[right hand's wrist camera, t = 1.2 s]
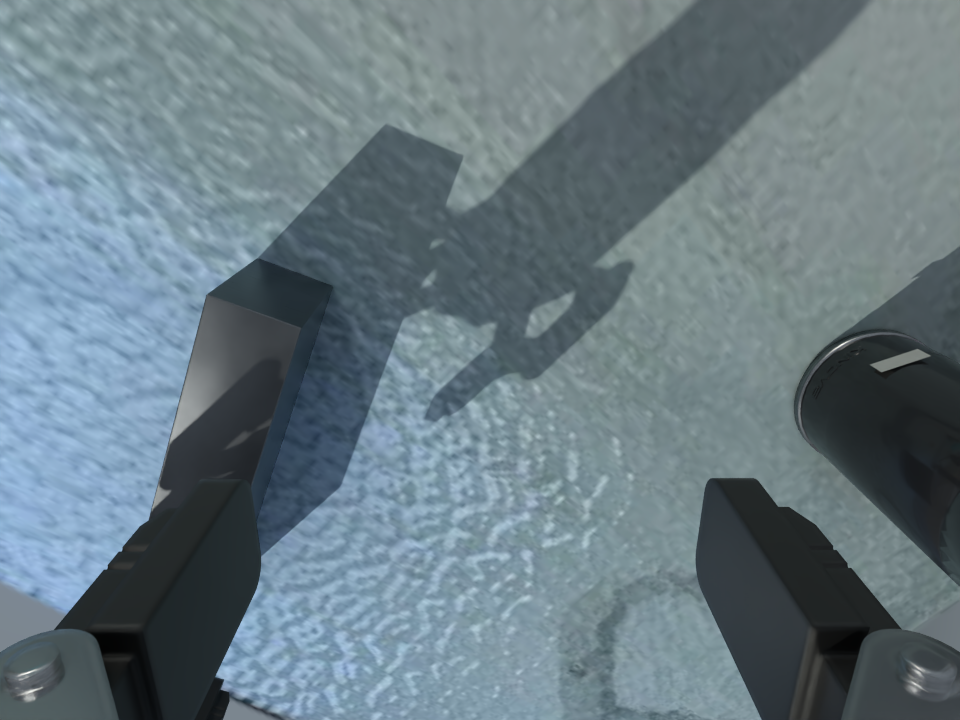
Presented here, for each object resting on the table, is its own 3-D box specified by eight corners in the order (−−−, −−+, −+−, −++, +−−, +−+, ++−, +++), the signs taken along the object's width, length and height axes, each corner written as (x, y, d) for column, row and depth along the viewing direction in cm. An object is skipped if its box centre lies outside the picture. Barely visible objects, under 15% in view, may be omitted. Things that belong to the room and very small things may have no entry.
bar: (256, 257, 39) (206, 294, 31) (333, 285, 40) (301, 328, 32) (172, 558, 47) (115, 647, 39) (237, 577, 48) (194, 668, 40)
